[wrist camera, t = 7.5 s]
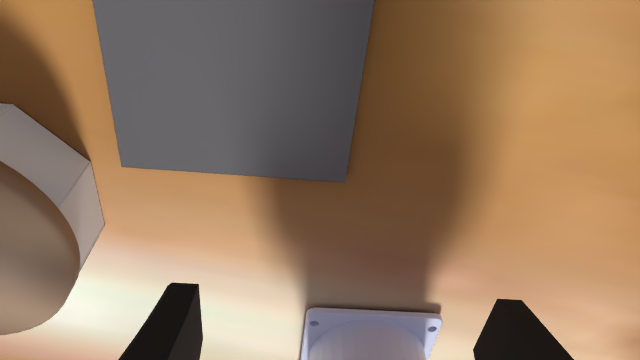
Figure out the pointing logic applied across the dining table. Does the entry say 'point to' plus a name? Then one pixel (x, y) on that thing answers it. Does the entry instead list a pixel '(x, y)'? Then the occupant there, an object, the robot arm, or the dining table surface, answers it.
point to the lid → (32, 254)
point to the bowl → (53, 173)
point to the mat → (235, 84)
